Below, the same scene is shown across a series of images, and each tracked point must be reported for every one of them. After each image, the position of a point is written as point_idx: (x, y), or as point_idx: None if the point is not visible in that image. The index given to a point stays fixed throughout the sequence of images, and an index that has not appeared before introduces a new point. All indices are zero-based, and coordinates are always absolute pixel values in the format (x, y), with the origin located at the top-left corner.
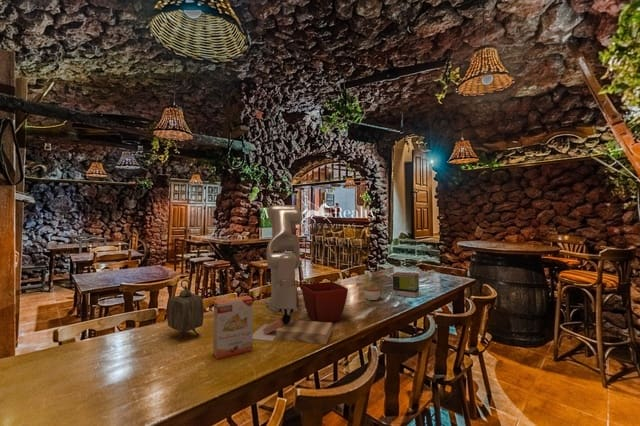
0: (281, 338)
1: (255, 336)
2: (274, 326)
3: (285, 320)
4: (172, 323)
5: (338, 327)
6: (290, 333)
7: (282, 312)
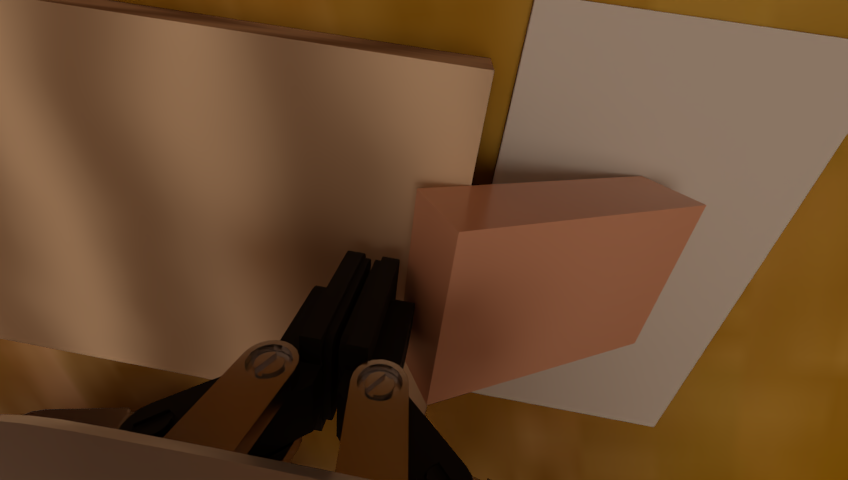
0: (417, 49)
1: (779, 124)
2: (538, 200)
3: (366, 286)
4: None
5: (32, 345)
6: (264, 33)
7: (394, 405)
